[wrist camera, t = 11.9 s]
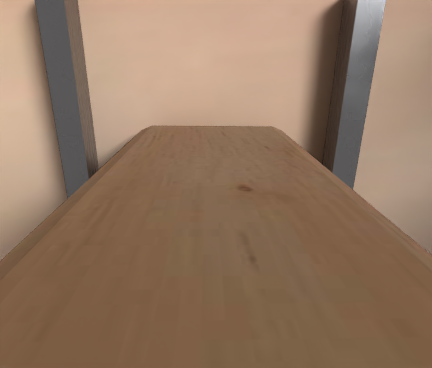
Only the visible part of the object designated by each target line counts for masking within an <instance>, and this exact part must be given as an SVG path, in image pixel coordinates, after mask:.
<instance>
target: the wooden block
mask: <svg viewBox="0 0 432 368" xmlns="http://www.w3.org/2000/svg"><path fill="white" fill-rule="evenodd" d="M0 368H432V255H431V254H429V253H428V252H427V251H426V250H425V249H423V248H422V247H421V246H420V245H419V244H417V243H416V242H415V241H414V240H412V239H411V238H410V237H409V236H408V235H406V234H405V233H404V232H403V231H402V230H400V229H399V228H398V227H397V226H396V225H394V224H393V223H392V222H391V221H390V220H388V219H387V218H386V217H385V216H384V215H382V214H381V213H380V212H379V211H378V210H376V209H375V208H374V207H373V206H372V205H370V204H369V203H368V202H367V201H366V200H364V199H363V198H362V197H361V196H360V195H358V194H357V193H356V192H355V191H354V190H352V189H351V188H350V187H349V186H347V185H346V184H345V183H344V182H343V181H341V180H340V179H339V178H338V177H337V176H335V175H334V174H333V173H332V172H331V171H329V170H328V169H327V168H326V167H325V166H323V165H322V164H321V163H320V162H319V161H317V160H316V159H315V158H314V157H313V156H311V155H310V154H309V153H308V152H307V151H305V150H304V149H303V148H302V147H301V146H299V145H298V144H297V143H296V142H295V141H293V140H292V139H291V138H290V137H288V136H287V135H286V134H285V133H284V132H282V131H281V130H278V129H276V128H274V127H253V126H151V127H148V128H146V129H143V130H142V131H140V132H139V133H138V134H137V135H136V136H135V137H134V138H133V139H132V140H131V141H130V142H129V143H127V144H126V145H125V146H124V147H123V148H122V149H121V150H120V151H119V152H118V153H117V154H116V155H115V156H113V157H112V158H111V159H110V160H109V161H108V162H107V163H106V164H105V165H104V166H103V167H102V168H100V169H99V170H98V171H97V172H96V173H95V174H94V175H93V176H92V177H91V178H90V179H89V180H88V181H86V182H85V183H84V184H83V185H82V186H81V187H80V188H79V189H78V190H77V191H76V192H75V193H73V194H72V195H71V196H70V197H69V198H68V199H67V200H66V201H65V202H64V203H63V204H62V205H60V206H59V207H58V208H57V209H56V210H55V211H54V212H53V213H52V214H51V215H50V216H49V217H48V218H46V219H45V220H44V221H43V222H42V223H41V224H40V225H39V226H38V227H37V228H36V229H35V230H33V231H32V232H31V233H30V234H29V235H28V236H27V237H26V238H25V239H24V240H23V241H22V242H21V243H19V244H18V245H17V246H16V247H15V248H14V249H13V250H12V251H11V252H10V253H9V254H8V255H6V256H5V257H4V258H3V259H2V260H1V261H0Z"/></svg>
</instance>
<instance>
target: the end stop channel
mask: <svg viewBox="0 0 432 368" xmlns="http://www.w3.org/2000/svg"><path fill="white" fill-rule="evenodd" d="M385 3H386V0H344V6H343V14H342V21H341V29H340V36H339V44H338V51H337V59H336V66H335V73H334V81H333V88H332V96H331V103H330V111H329V118H328V126H327V133H326V141H325V148H324V155H323V163H322V165H323V166H325V167H326V168H327V169H328V170H329V171H331V172H332V173H333V174H334V175H335V176H337V177H338V178H339V179H340V180H341V181H343V182H344V183H345V184H346V185H347V186H349V187H350V188H351V189H352V190H353V186H354V180H355V175H356V169H357V163H358V158H359V152H360V146H361V140H362V135H363V129H364V123H365V117H366V112H367V106H368V100H369V94H370V89H371V83H372V77H373V72H374V66H375V60H376V54H377V49H378V43H379V37H380V31H381V26H382V20H383V14H384V9H385ZM35 4H36V10H37V16H38V22H39V28H40V34H41V40H42V46H43V52H44V58H45V64H46V70H47V76H48V82H49V88H50V94H51V100H52V106H53V112H54V118H55V124H56V131H57V137H58V143H59V149H60V155H61V161H62V167H63V173H64V179H65V185H66V191H67V197H68V198H69V197H70V196H71V195H72V194H73V193H75V192H76V191H77V190H78V189H79V188H80V187H81V186H82V185H83V184H84V183H85V182H86V181H88V180H89V179H90V178H91V177H92V176H93V175H94V174H95V173H96V172H97V171H98V170H99V169H98V161H97V153H96V145H95V137H94V129H93V121H92V113H91V105H90V97H89V89H88V81H87V73H86V65H85V57H84V49H83V41H82V33H81V25H80V17H79V9H78V1H77V0H35Z"/></svg>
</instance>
